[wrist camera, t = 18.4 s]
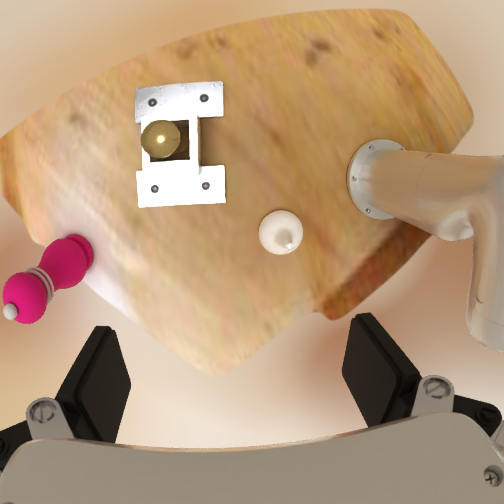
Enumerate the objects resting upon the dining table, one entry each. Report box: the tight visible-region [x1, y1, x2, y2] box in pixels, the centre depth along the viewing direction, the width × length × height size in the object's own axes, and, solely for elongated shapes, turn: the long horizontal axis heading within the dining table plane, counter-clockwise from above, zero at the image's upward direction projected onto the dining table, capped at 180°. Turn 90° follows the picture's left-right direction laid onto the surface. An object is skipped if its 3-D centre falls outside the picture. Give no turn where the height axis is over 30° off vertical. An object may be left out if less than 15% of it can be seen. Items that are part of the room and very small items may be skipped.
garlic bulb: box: [259, 210, 303, 255], centre depth 40 cm, size 6×6×8 cm
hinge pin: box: [141, 119, 189, 158], centre depth 32 cm, size 4×4×13 cm
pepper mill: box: [3, 234, 93, 324], centre depth 32 cm, size 7×7×20 cm
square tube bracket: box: [137, 112, 225, 207], centre depth 35 cm, size 12×12×8 cm
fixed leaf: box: [135, 81, 223, 162], centre depth 35 cm, size 12×11×4 cm
